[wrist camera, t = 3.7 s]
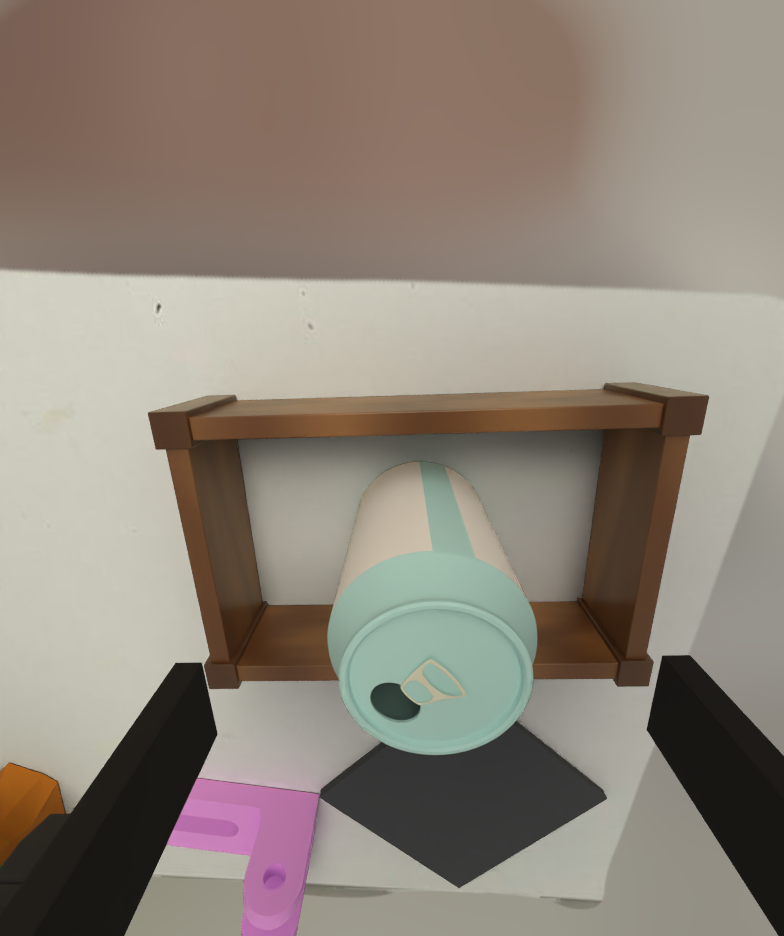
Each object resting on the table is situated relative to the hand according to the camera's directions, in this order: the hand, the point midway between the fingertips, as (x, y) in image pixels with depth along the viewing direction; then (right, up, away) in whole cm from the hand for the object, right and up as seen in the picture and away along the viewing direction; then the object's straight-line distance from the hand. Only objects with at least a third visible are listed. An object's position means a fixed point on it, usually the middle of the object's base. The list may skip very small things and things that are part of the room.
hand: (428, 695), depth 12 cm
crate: (+1, +4, +12) cm, 12 cm away
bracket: (-13, -20, +20) cm, 31 cm away
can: (+1, +4, +12) cm, 12 cm away
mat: (+4, -18, +18) cm, 26 cm away
